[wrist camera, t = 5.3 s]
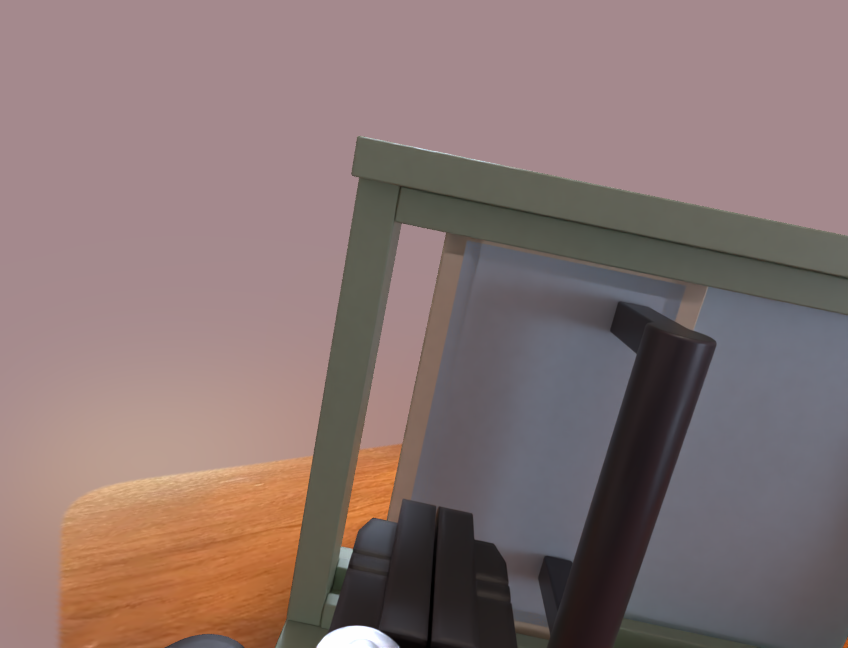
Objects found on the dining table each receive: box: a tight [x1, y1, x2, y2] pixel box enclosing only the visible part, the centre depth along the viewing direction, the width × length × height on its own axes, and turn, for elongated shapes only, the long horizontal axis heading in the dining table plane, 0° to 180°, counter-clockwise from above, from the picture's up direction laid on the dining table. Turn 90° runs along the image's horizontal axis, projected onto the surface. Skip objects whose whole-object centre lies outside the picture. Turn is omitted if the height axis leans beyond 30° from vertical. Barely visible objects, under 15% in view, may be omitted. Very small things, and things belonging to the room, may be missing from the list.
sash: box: [387, 232, 717, 648], centre depth 16 cm, size 5×8×14 cm, turn 87°
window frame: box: [275, 136, 848, 648], centre depth 18 cm, size 6×22×17 cm, turn 87°
